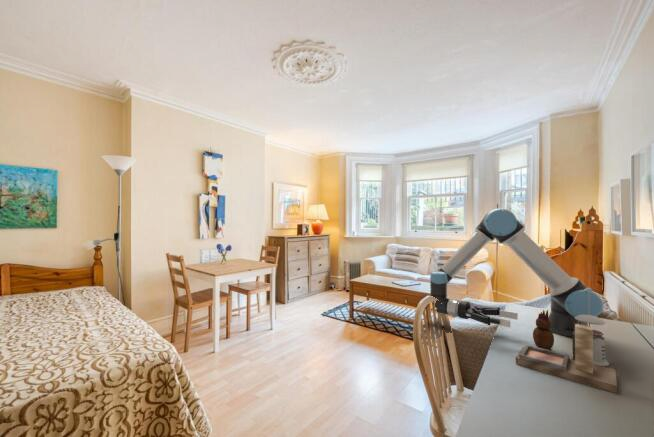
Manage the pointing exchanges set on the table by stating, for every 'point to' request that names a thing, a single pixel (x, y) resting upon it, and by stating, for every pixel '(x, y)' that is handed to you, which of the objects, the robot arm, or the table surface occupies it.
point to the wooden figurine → (543, 332)
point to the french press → (595, 336)
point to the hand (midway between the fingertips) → (514, 319)
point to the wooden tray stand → (571, 361)
